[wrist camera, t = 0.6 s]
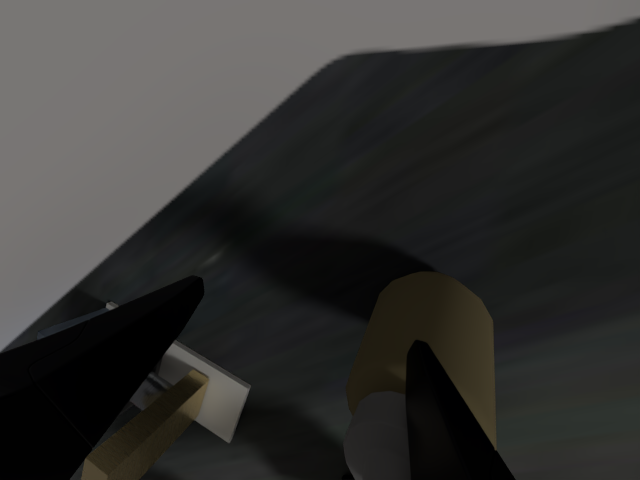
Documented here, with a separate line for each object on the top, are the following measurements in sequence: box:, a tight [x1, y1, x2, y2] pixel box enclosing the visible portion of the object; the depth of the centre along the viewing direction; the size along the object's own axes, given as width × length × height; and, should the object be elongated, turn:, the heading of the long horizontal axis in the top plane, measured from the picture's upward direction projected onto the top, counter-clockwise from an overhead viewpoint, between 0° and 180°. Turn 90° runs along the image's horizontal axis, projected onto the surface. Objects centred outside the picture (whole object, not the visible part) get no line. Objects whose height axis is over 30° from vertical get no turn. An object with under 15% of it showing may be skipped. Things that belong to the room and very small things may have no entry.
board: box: [106, 302, 251, 443], centre depth 31 cm, size 22×8×1 cm, turn 70°
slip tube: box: [81, 370, 209, 480], centre depth 25 cm, size 11×6×11 cm, turn 70°
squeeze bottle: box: [343, 271, 497, 480], centre depth 14 cm, size 8×8×18 cm
